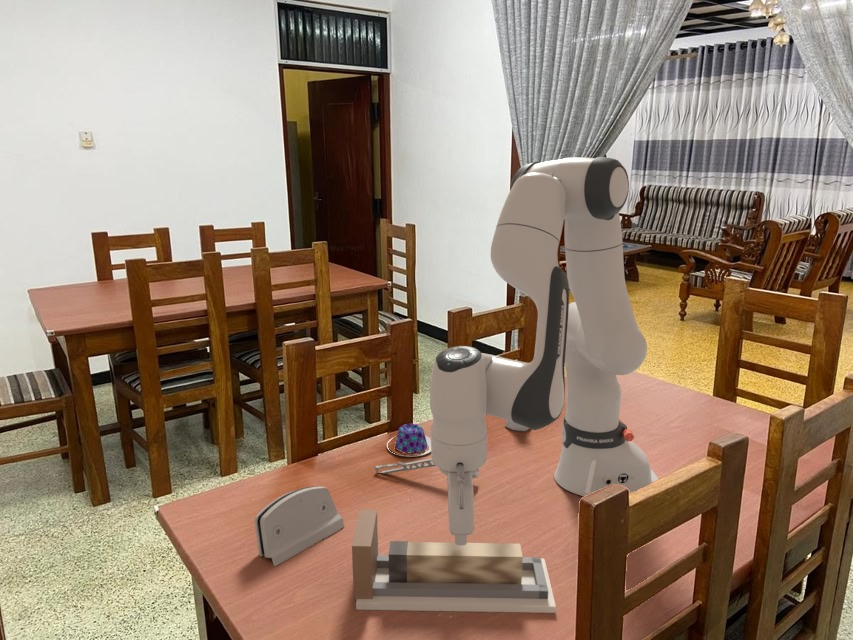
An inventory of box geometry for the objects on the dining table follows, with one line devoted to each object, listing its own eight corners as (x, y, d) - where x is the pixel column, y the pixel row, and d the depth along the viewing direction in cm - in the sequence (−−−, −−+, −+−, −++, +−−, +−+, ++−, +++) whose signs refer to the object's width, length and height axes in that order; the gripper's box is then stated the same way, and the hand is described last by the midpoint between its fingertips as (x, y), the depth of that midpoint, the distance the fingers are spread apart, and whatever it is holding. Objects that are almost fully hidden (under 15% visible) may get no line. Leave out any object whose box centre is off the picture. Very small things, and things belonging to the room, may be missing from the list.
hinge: (273, 567, 113) (259, 513, 112) (260, 563, 116) (245, 511, 115) (346, 526, 124) (333, 477, 124) (332, 524, 128) (319, 476, 127)
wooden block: (518, 573, 109) (520, 542, 107) (521, 587, 106) (522, 556, 104) (390, 571, 110) (390, 541, 108) (389, 585, 106) (388, 554, 104)
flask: (537, 424, 168) (539, 388, 165) (525, 434, 162) (527, 398, 159) (512, 417, 172) (513, 383, 169) (500, 427, 166) (501, 392, 163)
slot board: (543, 564, 113) (547, 509, 110) (555, 612, 102) (559, 553, 99) (362, 561, 114) (360, 506, 111) (353, 609, 103) (350, 550, 99)
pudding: (393, 462, 149) (392, 442, 147) (381, 439, 160) (381, 420, 158) (441, 455, 152) (441, 435, 151) (427, 433, 163) (427, 414, 162)
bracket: (477, 479, 137) (457, 439, 136) (392, 507, 144) (372, 470, 142) (479, 471, 140) (460, 433, 139) (396, 499, 147) (376, 463, 145)
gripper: (483, 483, 90) (483, 566, 94) (475, 420, 110) (474, 491, 114) (439, 484, 91) (440, 566, 95) (438, 421, 110) (439, 491, 114)
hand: (459, 524), depth 104 cm, fingers open, 8 cm apart
